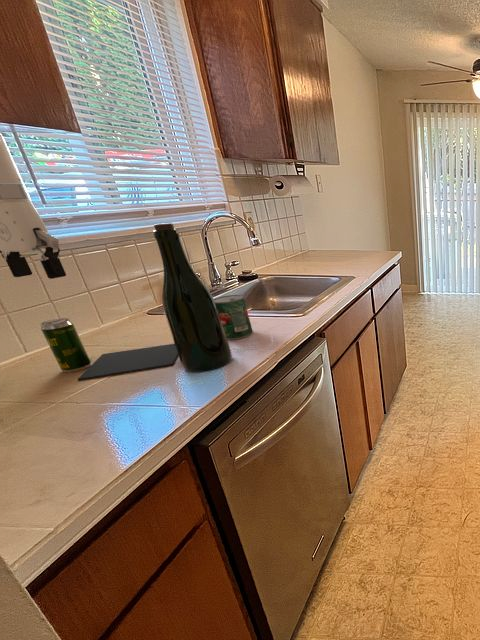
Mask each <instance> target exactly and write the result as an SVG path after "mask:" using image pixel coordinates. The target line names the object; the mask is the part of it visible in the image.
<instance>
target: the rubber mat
mask: <svg viewBox="0 0 480 640" xmlns="http://www.w3.org/2000/svg"><path fill="white" fill-rule="evenodd" d="M178 358H179V356H178V353H177V350H176V347H175V344H174V343H170V344H169V343H168V344H161V345H155V346H149V347H148V346H147V347H141V348H135V349H126V350H120V351H115V352H114V351H113V352H108V353H102V354H101V355H100V356H99V357H98V358H97V359H96V360H95V361H94V362H93V363H91V365H90V367H88V368H86V370H84V372H83V373H82V374H81V375H80V376H79V377H78V378H77V381H78V382H80V381H85V380H92V379H98V378H99V379H100V378H104V377H110V376H116V375H117V376H118V375H122V374H129V373H135V372H141V371H147V370H154V369H159V368H167V367H173V366H174V364H175V363H176V360H177V359H178Z"/></svg>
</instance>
